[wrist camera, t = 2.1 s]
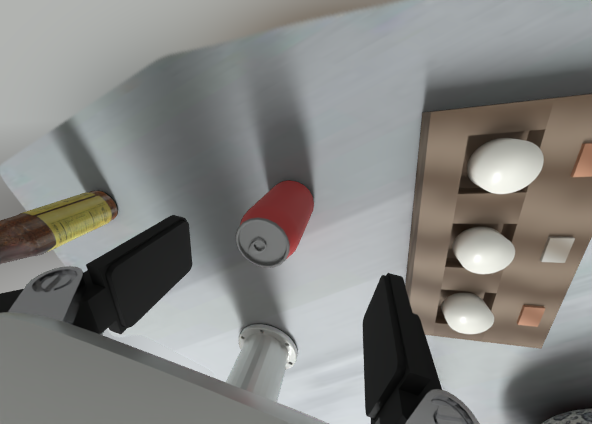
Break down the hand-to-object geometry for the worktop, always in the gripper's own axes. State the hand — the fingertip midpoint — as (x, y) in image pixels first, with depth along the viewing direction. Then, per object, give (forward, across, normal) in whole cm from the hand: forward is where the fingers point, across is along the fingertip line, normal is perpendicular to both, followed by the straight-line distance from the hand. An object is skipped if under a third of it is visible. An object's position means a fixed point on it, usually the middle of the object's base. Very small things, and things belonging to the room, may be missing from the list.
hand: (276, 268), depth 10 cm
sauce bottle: (+21, +39, +16) cm, 47 cm away
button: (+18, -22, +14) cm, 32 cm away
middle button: (+18, -19, +5) cm, 27 cm away
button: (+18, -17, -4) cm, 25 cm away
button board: (+21, -21, +4) cm, 30 cm away
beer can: (+21, +4, +6) cm, 22 cm away
